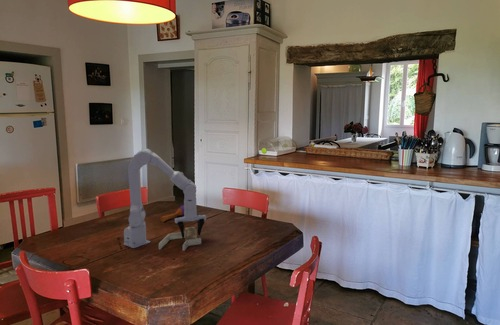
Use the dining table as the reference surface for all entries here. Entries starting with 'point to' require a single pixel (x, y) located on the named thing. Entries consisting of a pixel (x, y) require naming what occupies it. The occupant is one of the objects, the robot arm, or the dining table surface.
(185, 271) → the dining table surface
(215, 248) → the dining table surface
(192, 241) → the rail track
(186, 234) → the maple block
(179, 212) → the kendama
